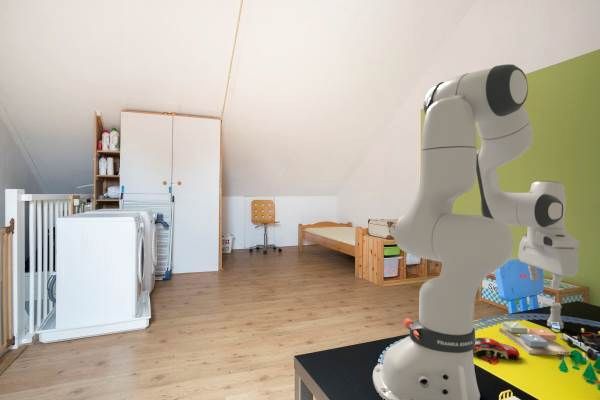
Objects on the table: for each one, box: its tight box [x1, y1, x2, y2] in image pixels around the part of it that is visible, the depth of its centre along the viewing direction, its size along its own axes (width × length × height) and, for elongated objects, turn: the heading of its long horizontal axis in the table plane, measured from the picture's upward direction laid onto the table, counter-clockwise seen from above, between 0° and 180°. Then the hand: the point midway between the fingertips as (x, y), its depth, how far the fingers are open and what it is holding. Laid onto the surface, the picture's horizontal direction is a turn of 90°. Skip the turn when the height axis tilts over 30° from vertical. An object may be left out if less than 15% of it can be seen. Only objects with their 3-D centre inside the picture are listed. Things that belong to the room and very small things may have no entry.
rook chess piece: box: [546, 301, 565, 330], centre depth 108 cm, size 4×4×8 cm
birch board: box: [498, 327, 572, 356], centre depth 97 cm, size 11×15×1 cm
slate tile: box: [520, 334, 548, 347], centre depth 92 cm, size 5×5×2 cm
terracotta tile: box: [528, 327, 557, 341], centre depth 97 cm, size 5×5×2 cm
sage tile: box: [502, 321, 528, 333], centre depth 101 cm, size 5×5×2 cm
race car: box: [473, 337, 520, 362], centre depth 89 cm, size 13×5×4 cm, turn 77°
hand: (544, 284), depth 96 cm, fingers open, 7 cm apart
